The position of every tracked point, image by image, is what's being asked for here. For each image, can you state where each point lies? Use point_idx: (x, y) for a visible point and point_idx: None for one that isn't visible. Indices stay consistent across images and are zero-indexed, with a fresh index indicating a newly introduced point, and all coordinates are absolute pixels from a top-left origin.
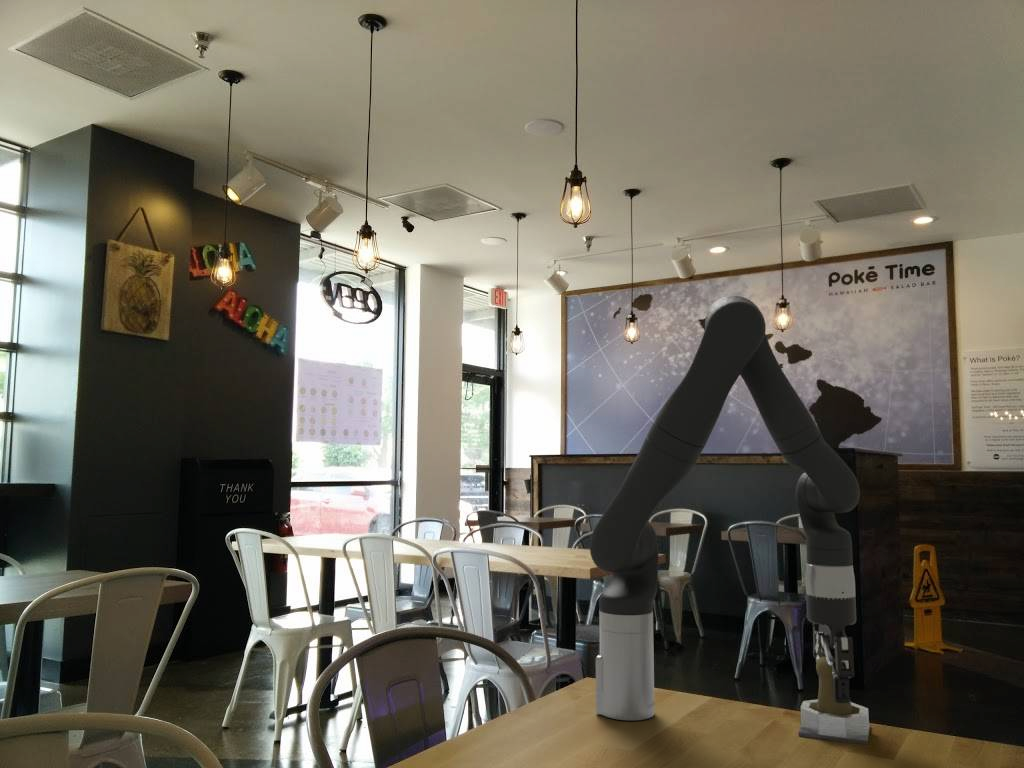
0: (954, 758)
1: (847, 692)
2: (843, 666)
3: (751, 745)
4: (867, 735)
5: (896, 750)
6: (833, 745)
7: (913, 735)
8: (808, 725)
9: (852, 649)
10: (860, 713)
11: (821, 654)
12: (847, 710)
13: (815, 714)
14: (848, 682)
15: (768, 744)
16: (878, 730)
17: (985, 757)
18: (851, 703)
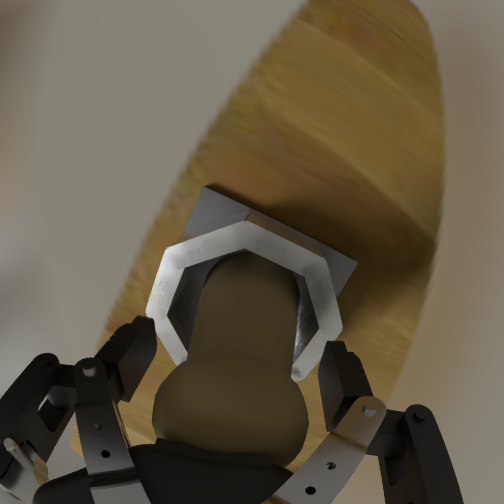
0: (439, 109)
1: (362, 370)
2: (301, 429)
3: (318, 431)
4: (318, 243)
5: (394, 207)
6: (345, 330)
7: (282, 100)
8: None
9: (459, 495)
10: (304, 271)
11: (130, 444)
12: (291, 309)
13: (295, 380)
14: (358, 387)
15: (318, 416)
16: (237, 175)
17: (426, 47)
18: (186, 251)
